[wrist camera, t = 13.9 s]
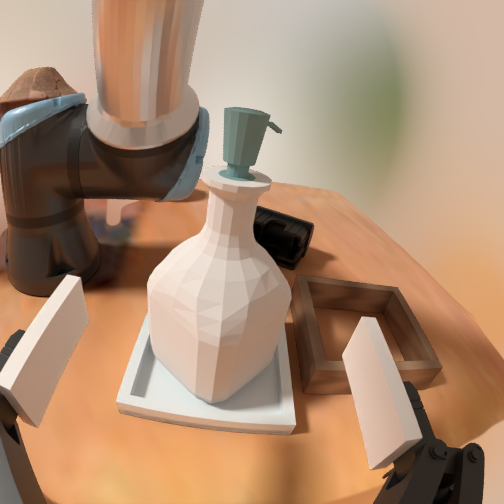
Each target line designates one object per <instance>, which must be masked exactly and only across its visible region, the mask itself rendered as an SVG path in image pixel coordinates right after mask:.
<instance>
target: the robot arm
mask: <svg viewBox="0 0 504 504" xmlns="http://www.w3.org/2000/svg"><path fill="white" fill-rule="evenodd" d="M203 3H204V0H92V23H93V43H94V58H95V69H96V79H97V89H98V92H97V93H96V94H95V95H94V96H93V98H92V99H91V101H90V103H89V104H85V103H86V101H87V99H86V98H85V94H84V93H76V94H71V95H66V96H61V97H57V98H52V99H48V100H43V101H40V102H36V103H32V104H29V105H25V106H22V107H19V108H15V109H13V110H10V111H8V112H7V113H6V114H5V115H4V116H3V117H2V119H1V121H0V174H1V183H2V191H3V199H4V205H5V211H6V217H7V224H8V228H7V240H6V252H7V253H6V257H5V265H6V270H7V273H8V277H9V280H10V282H11V284H12V285H13V286H14V287H15V288H16V289H17V290H19V291H21V292H23V293H26V294H29V295H36V296H47V295H51V297H50V298H49V299H48V301H47V302H46V303H45V305H44V306H43V308H42V309H41V310H40V312H39V313H38V315H37V316H36V317H35V319H34V320H33V322H32V323H31V325H30V326H29V328H28V329H27V331H23V330H20V329H19V330H18V331H17V332H15V333H14V334H13V335H11V336H10V338H9V339H8V341H7V342H6V344H5V347H3V349H2V350H1V353H0V504H47V502H46V500H45V498H44V496H43V494H42V491H41V489H40V487H39V484H38V482H37V479H36V477H35V474H34V472H33V469H32V467H31V464H30V461H29V458H28V455H27V452H26V450H25V446H24V443H23V440H22V437H21V434H20V430H19V427H18V424H17V422H16V418H17V416H18V415H19V417H20V418H21V419H22V421H23V422H25V423H27V424H29V425H31V426H34V427H36V428H38V427H39V425H40V423H41V420H42V418H43V415H44V413H45V411H46V408H47V406H48V404H49V401H50V399H51V397H52V395H53V392H54V390H55V388H56V386H57V384H58V382H59V379H60V377H61V375H62V373H63V371H64V369H65V367H66V365H67V363H68V361H69V359H70V357H71V355H72V353H73V351H74V349H75V347H76V345H77V343H78V341H79V339H80V338H81V336H82V334H83V332H84V330H85V328H86V326H87V325H88V323H89V317H88V313H87V308H86V303H85V298H84V293H83V288H82V284H83V283H85V282H86V281H87V280H88V279H90V278H91V277H92V276H93V275H94V273H95V272H96V271H97V269H98V267H99V265H100V250H99V243H98V240H97V238H96V237H95V234H94V232H93V229H92V227H91V224H90V222H89V219H88V217H87V215H86V212H85V209H84V199H131V200H132V199H133V200H151V201H155V202H163V201H179V200H184V199H186V198H187V197H189V196H190V195H191V194H192V192H193V191H194V189H195V187H196V185H197V182H198V180H199V177H200V174H201V170H202V166H203V158H204V156H205V153H206V149H207V143H208V136H209V113H208V111H207V110H206V109H205V108H203V107H200V106H199V101H198V98H197V95H196V93H195V92H194V90H193V89H192V88H191V87H190V86H189V85H188V78H189V72H190V67H191V61H192V56H193V50H194V45H195V40H196V34H197V30H198V25H199V21H200V16H201V11H202V7H203ZM342 358H343V361H344V365H345V369H346V372H347V376H348V380H349V384H350V388H351V391H352V395H353V399H354V403H355V407H356V411H357V415H358V419H359V423H360V428H361V432H362V436H363V440H364V445H365V449H366V454H367V458H368V463H369V468H370V470H374V469H380V468H386V467H387V466H388V465H390V464H391V463H392V462H393V463H394V468H393V469H392V470H390V471H389V472H387V473H386V474H385V475H384V476H383V477H382V478H383V479H384V478H386V477H387V476H388V478H387V480H386V482H385V484H384V485H383V487H382V489H381V491H380V493H379V494H378V496H377V498H376V499H375V501H374V503H373V504H482V499H483V486H484V452H483V450H482V448H481V447H480V446H479V445H478V444H476V443H469V444H467V445H466V446H465V447H463V448H462V449H460V448H450V447H447V445H446V444H445V443H444V442H443V441H442V440H439V439H436V438H435V436H434V433H433V431H432V428H431V425H430V422H429V420H428V417H427V414H426V412H425V409H423V407H424V406H423V404H422V401H420V400H421V399H420V396H419V394H418V391H417V389H416V388H415V387H414V386H413V384H412V383H411V382H410V381H402V379H401V377H400V374H399V372H398V369H397V367H396V364H395V362H394V359H393V357H392V355H391V352H390V350H389V347H388V345H387V343H386V340H385V338H384V336H383V334H382V331H381V329H380V327H379V324H378V322H377V320H376V318H375V317H361V319H360V321H359V323H358V325H357V327H356V329H355V331H354V333H353V335H352V337H351V339H350V341H349V343H348V345H347V347H346V349H345V350H344V352H343V354H342ZM453 485H454V486H453Z"/></svg>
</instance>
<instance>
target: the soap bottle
mask: <svg viewBox="0 0 504 504" xmlns="http://www.w3.org/2000/svg"><path fill="white" fill-rule="evenodd" d="M269 119H270V115H269V114H267V113H264V112H262V111H258V110H253V109H249V108H240V107H232V108H225V110H224V145H223V147H224V148H223V150H224V151H223V160H224V161H225V162H227V163H228V166H212V167H208V168H205V169H204V170H203V171H202V176H201V178H202V181H203V182H204V183H205V184H206V185H207V186H208V187H209V189H210V192H209V201H208V209H207V218H206V223H205V225H204V227H203V229H202V231H201V232H200V233H199V234H197V235H195V236H193V237H191V238H189V239H187V240H185V241H184V242H182V243H181V244H180V245H178V246H177V247H175V248H174V249H173V250H172V251H171V252H170V253H169V254H168V256H167V257H166V258H165V259H164V260H163V261H162V262H161V263H160V264H159V265H158V266H157V267H156V268H155V269H154V271H153V272H152V274H151V275H150V277H149V280H148V282H147V296H148V314H149V329H150V341H151V346H152V350H153V353H154V355H155V357H156V358H157V360H158V361H159V362H160V363H161V364H162V365H163V366H164V367H165V368H166V369H167V370H168V371H169V372H170V373H171V374H172V375H173V376H174V377H175V378H176V379H177V380H178V381H179V382H180V383H181V384H182V385H183V386H184V387H185V388H186V389H187V390H188V391H189V392H190V393H191V394H192V395H194V396H195V397H196V398H197V399H199V400H202V401H204V402H207V403H210V404H212V403H217V402H222V401H225V400H226V399H228V398H229V397H230V396H232V395H233V394H234V393H236V392H237V391H238V390H239V389H241V388H242V387H243V386H244V385H246V384H247V383H248V382H250V381H251V380H252V379H253V378H255V377H256V376H257V375H258V374H259V373H261V372H262V371H263V370H264V369H266V368H267V367H268V366H269V365H270V363H271V361H272V358H273V355H274V352H275V349H276V346H277V343H278V340H279V337H280V334H281V331H282V328H283V325H284V322H285V318H286V315H287V312H288V309H289V306H290V302H291V299H292V295H291V289H290V286H289V284H288V281H287V280H286V278H285V277H284V275H283V274H282V272H281V270H280V269H279V267H278V266H277V264H276V263H275V261H274V260H273V259H272V257H271V256H270V255H269V254H268V252H267V251H266V250H265V249H264V248H263V247H262V246H260V245H259V244H258V243H257V242H256V240H255V238H254V233H253V223H254V218H255V213H256V207H257V202H258V197H259V196H260V195H262V194H263V193H264V192H266V191H269V190H270V186H271V181H272V180H271V179H270V178H269V177H268V176H266V175H264V174H262V173H260V172H257V171H254V170H251V169H249V167H250V166H253V165H255V163H256V160H257V156H258V153H259V150H260V147H261V144H262V141H263V137H264V134H265V131H266V128H267V126H269V127H270V128H272V129H273V130H274V131H275V132H277V133H280V134H281V133H282V130H281V129H280V128H279V127H277V126H276V125H275V124H274V123H273V122H269Z"/></svg>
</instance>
